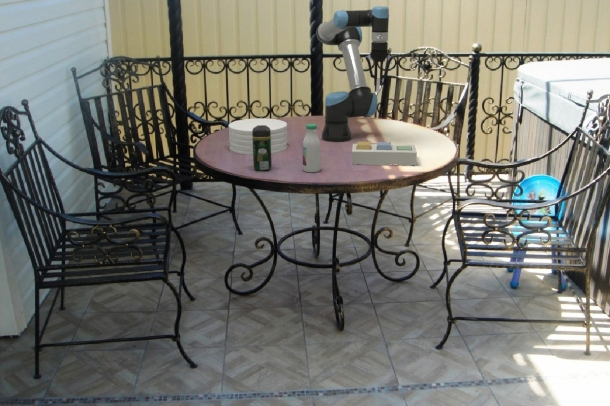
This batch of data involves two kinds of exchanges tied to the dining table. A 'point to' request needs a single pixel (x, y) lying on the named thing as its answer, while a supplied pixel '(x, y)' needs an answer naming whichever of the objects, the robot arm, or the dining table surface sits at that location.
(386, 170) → the dining table surface
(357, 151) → the key panel
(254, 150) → the coffee jar
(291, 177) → the dining table surface
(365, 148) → the key ochre
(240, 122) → the plate stack
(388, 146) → the key blue
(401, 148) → the key sage
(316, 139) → the milk bottle
